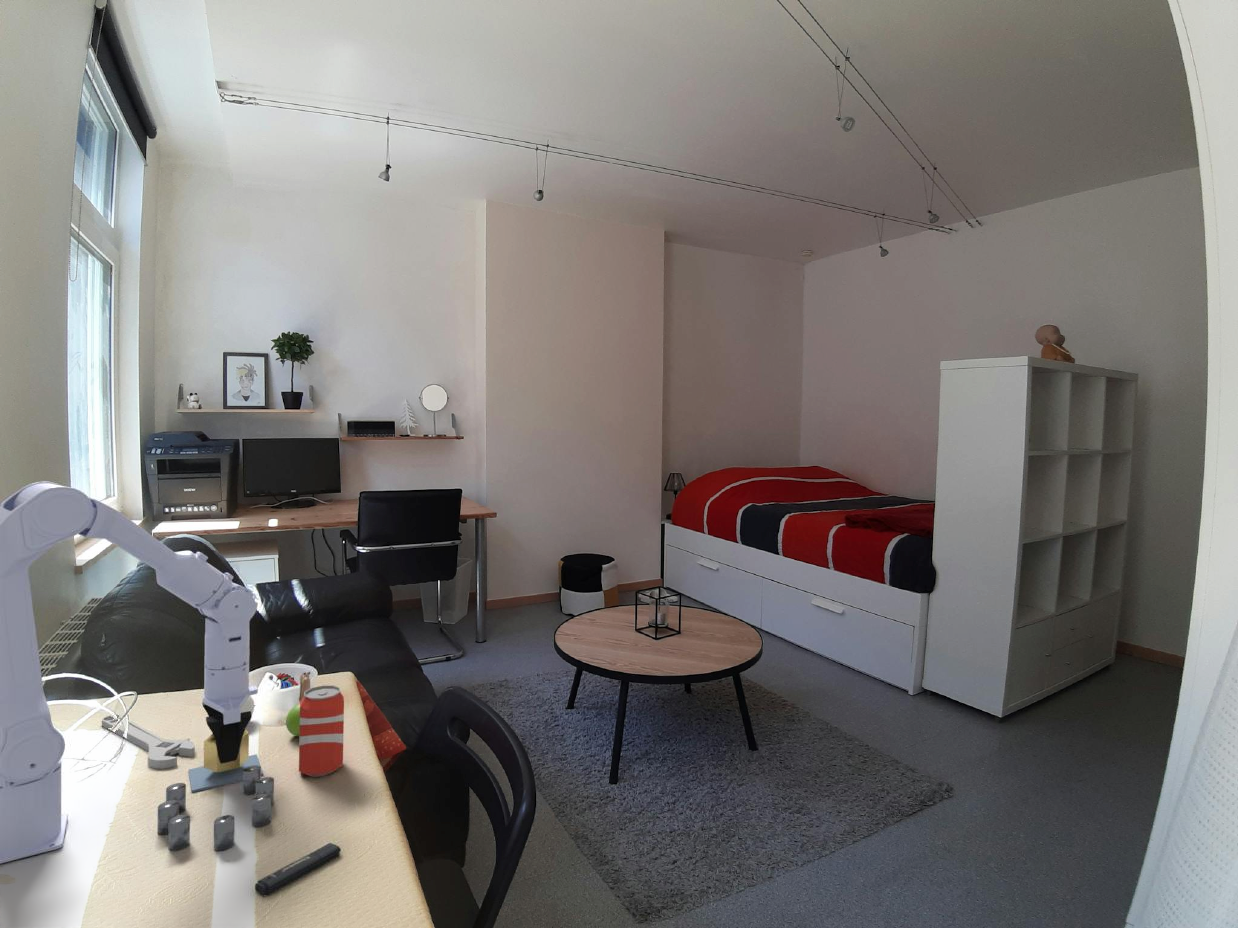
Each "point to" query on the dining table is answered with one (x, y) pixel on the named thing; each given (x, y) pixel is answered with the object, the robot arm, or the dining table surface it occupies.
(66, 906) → the dining table surface
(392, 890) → the dining table surface
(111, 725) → the adjustable wrench
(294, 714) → the snail figurine
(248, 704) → the white egg
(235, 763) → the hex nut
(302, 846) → the dining table surface
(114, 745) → the dining table surface
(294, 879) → the usb stick
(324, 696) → the beverage can
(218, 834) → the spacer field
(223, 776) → the mat
